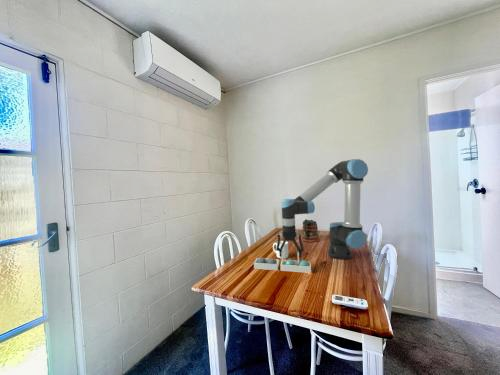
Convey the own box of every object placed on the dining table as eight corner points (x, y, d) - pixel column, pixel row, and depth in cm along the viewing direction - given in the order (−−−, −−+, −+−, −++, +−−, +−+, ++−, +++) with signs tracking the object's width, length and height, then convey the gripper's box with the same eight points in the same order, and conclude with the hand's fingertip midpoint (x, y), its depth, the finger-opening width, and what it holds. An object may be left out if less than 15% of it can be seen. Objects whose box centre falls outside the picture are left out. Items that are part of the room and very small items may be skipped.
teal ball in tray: (308, 267, 122) (308, 258, 122) (308, 271, 116) (308, 262, 116) (298, 266, 123) (299, 258, 123) (298, 270, 118) (298, 261, 118)
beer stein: (315, 244, 166) (315, 220, 165) (298, 242, 173) (297, 219, 172) (320, 238, 182) (320, 216, 181) (304, 236, 189) (303, 215, 189)
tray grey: (279, 265, 128) (278, 259, 127) (277, 271, 120) (277, 264, 120) (257, 264, 131) (256, 258, 131) (254, 269, 123) (253, 263, 123)
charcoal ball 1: (266, 264, 128) (266, 256, 128) (265, 268, 123) (264, 259, 123) (258, 264, 130) (258, 255, 129) (256, 267, 124) (256, 258, 124)
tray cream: (310, 267, 123) (310, 261, 123) (311, 274, 115) (310, 267, 115) (282, 265, 127) (281, 259, 127) (280, 271, 119) (280, 264, 119)
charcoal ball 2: (277, 265, 127) (276, 256, 126) (275, 269, 121) (275, 260, 121) (268, 264, 128) (268, 256, 128) (266, 268, 123) (266, 259, 122)
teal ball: (294, 266, 124) (294, 257, 124) (294, 270, 118) (294, 261, 118) (285, 266, 125) (285, 257, 125) (284, 269, 120) (284, 260, 120)
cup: (284, 260, 136) (284, 245, 136) (269, 256, 144) (269, 242, 144) (290, 256, 142) (290, 242, 142) (276, 252, 150) (275, 239, 150)
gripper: (307, 223, 122) (309, 260, 122) (271, 223, 127) (273, 259, 128) (307, 226, 115) (309, 266, 115) (270, 226, 120) (271, 263, 121)
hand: (290, 262), depth 122 cm, fingers open, 9 cm apart
